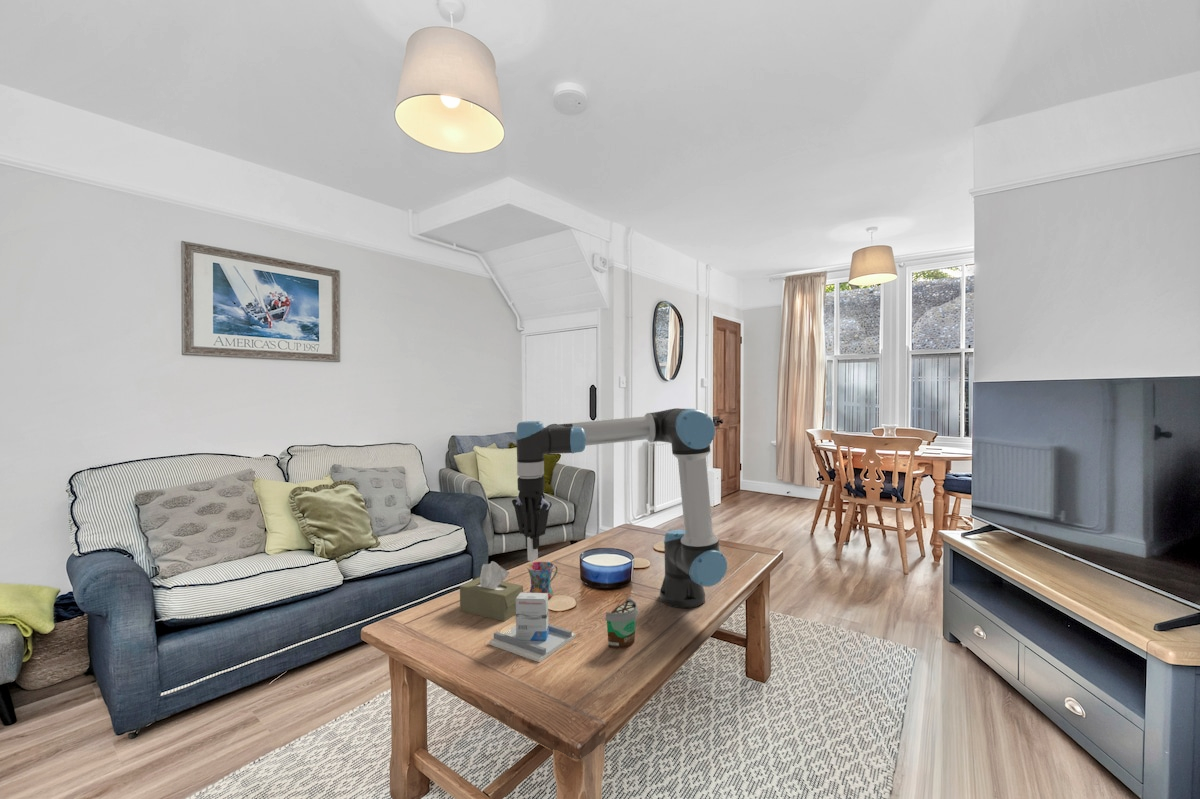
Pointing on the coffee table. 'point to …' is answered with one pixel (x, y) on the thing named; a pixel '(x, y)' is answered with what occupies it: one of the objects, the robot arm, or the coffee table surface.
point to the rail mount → (533, 643)
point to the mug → (541, 577)
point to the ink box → (532, 616)
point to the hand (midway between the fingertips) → (532, 559)
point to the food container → (622, 625)
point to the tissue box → (490, 594)
